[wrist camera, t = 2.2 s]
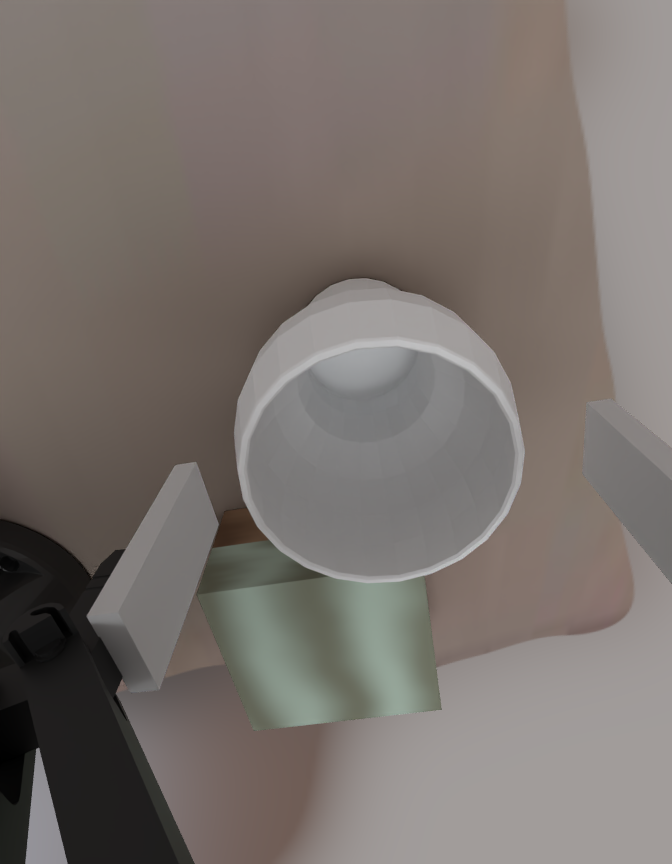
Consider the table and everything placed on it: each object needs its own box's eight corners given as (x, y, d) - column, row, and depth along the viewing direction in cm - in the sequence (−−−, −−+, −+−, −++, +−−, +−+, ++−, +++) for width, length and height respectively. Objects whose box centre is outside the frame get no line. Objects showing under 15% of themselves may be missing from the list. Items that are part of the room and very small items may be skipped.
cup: (438, 232, 27) (542, 283, 13) (455, 406, 32) (544, 572, 18) (251, 272, 28) (173, 357, 14) (295, 435, 32) (266, 613, 19)
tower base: (267, 635, 41) (253, 730, 34) (224, 511, 35) (196, 594, 28) (422, 615, 40) (441, 709, 33) (404, 484, 34) (422, 563, 27)
